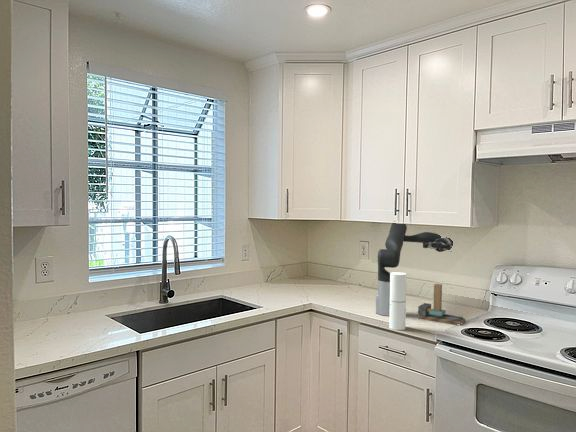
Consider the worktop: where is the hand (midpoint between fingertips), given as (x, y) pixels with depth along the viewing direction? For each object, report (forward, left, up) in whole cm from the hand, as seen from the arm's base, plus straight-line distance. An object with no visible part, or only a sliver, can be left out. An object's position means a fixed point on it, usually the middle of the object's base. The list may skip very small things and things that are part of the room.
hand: (432, 246), depth 227 cm
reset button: (+3, -16, -32) cm, 36 cm away
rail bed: (+10, -16, -34) cm, 39 cm away
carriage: (+8, -16, -31) cm, 36 cm away
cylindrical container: (-2, -42, -34) cm, 54 cm away
